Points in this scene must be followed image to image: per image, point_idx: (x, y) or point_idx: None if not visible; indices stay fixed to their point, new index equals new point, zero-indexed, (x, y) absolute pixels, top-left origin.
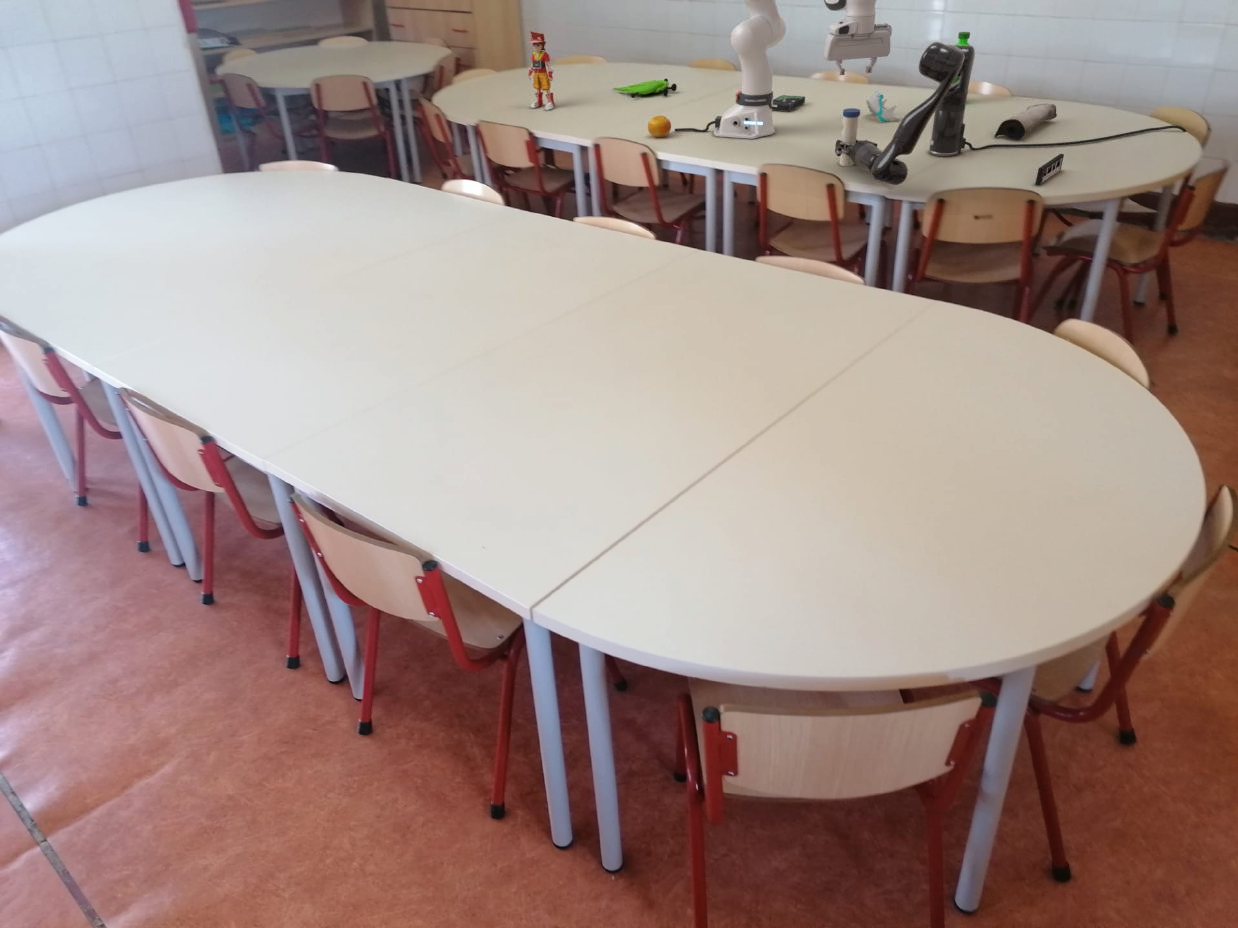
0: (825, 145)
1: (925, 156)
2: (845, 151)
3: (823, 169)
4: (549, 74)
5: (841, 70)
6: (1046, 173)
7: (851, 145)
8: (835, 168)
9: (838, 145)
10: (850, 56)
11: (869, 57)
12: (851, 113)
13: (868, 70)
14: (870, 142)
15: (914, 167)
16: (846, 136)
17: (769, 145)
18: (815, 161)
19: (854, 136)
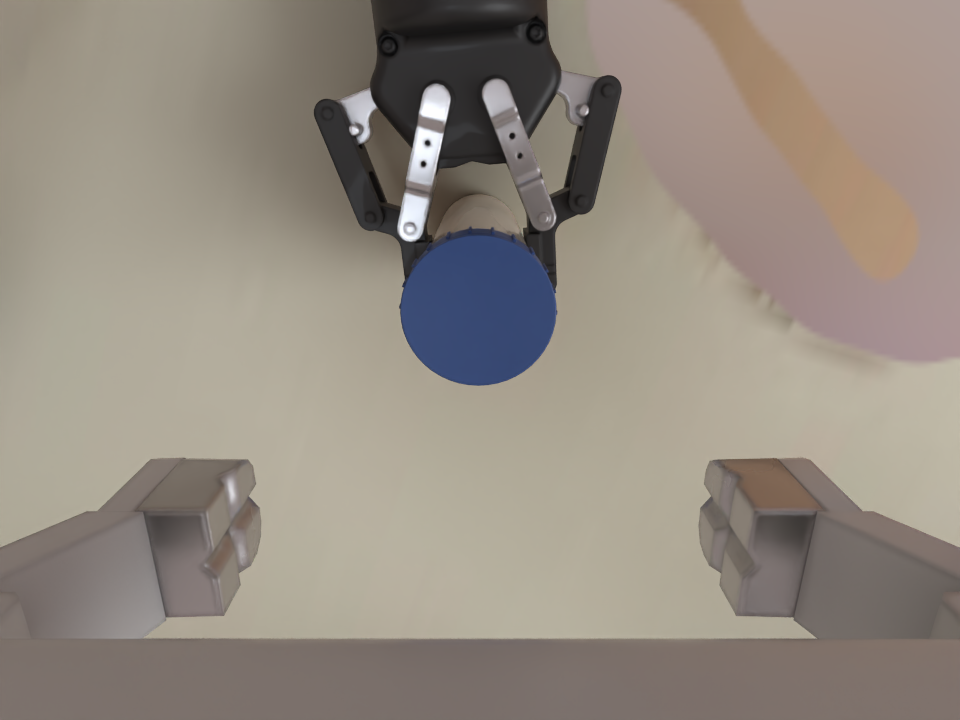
0: (479, 560)
1: (19, 251)
2: (563, 71)
3: (634, 177)
4: None
5: (828, 503)
6: None
7: (513, 100)
8: (564, 176)
9: (589, 160)
10: (847, 716)
11: (49, 645)
12: (504, 240)
13: (210, 478)
14: (351, 166)
15: (117, 58)
16: (515, 228)
17: (727, 625)
18: (620, 331)
19: (456, 218)
